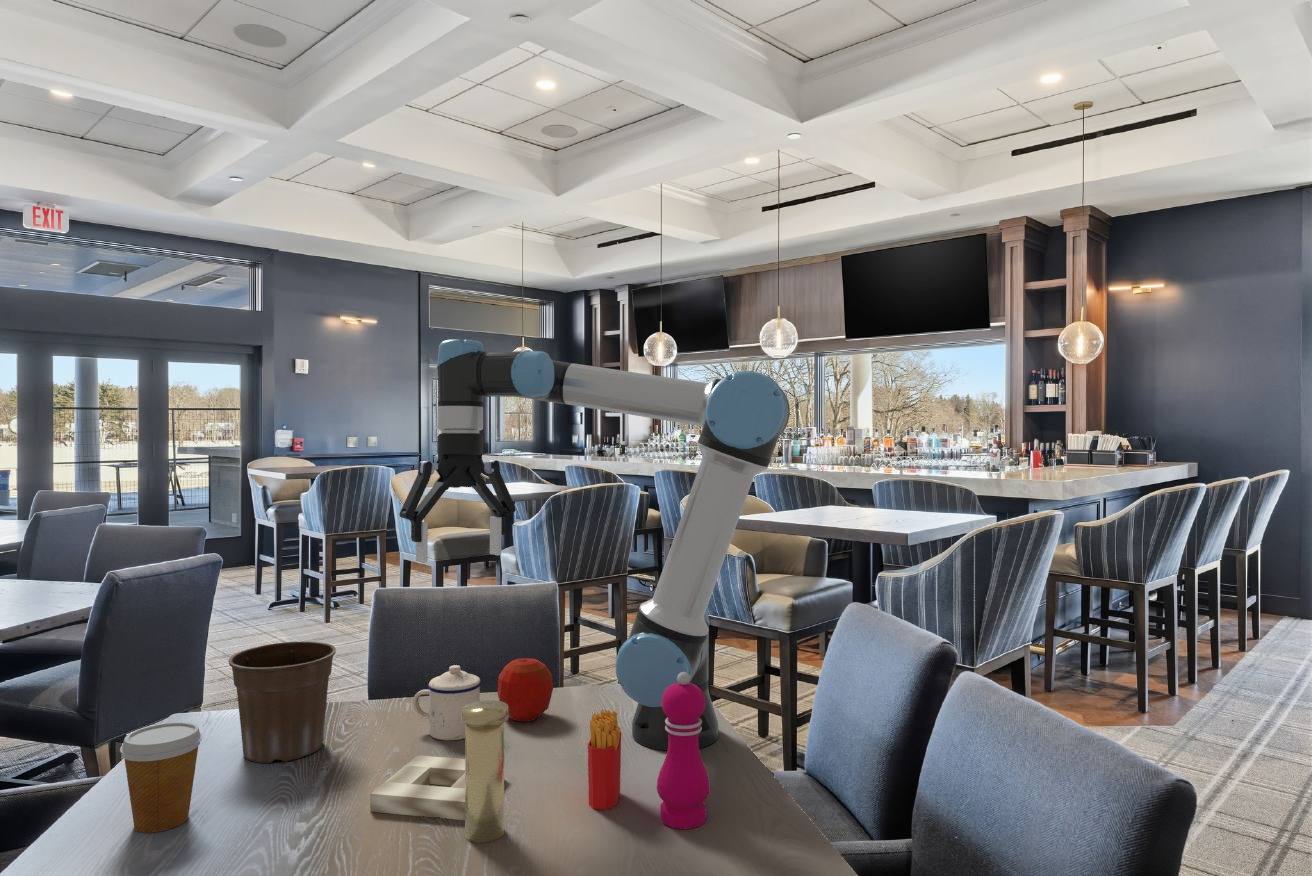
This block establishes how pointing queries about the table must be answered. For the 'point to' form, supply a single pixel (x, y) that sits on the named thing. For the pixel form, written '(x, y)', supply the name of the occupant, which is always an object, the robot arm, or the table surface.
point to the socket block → (424, 789)
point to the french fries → (604, 760)
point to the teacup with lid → (449, 702)
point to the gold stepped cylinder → (484, 769)
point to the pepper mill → (683, 757)
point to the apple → (525, 688)
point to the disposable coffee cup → (161, 773)
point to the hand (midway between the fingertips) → (459, 558)
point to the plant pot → (282, 698)
